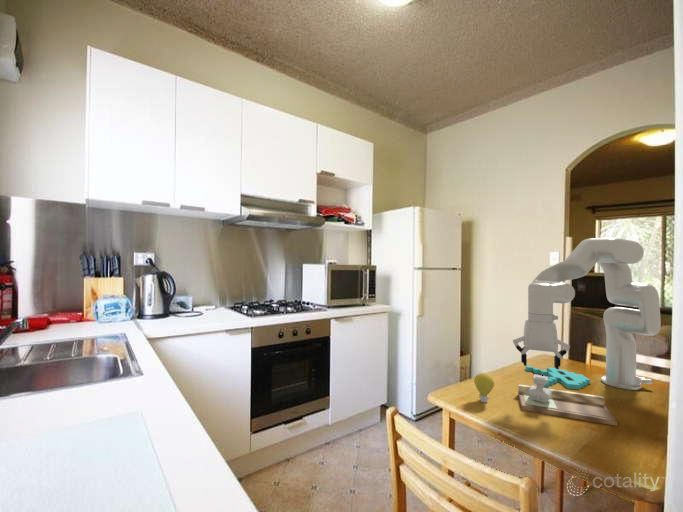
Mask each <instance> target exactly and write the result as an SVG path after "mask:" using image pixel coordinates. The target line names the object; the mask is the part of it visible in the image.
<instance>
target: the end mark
mask: <svg viewBox="0 0 683 512" xmlns="http://www.w3.org/2000/svg"><path fill="white" fill-rule="evenodd" d="M523 394H524V397H525V401H526V404H529V405H536V406H542V407H548V408H554V409H557V407H556V405H555V403H554V401H553V399H552V397H550V399H549V400H548V401H547V402H546V403H543V402H539V401H535V400H532V399H531V398H530V396H529V395H528V394H527V393H523Z"/></svg>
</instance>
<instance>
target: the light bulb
mask: <svg viewBox="0 0 683 512" xmlns="http://www.w3.org/2000/svg"><path fill="white" fill-rule="evenodd" d="M473 383H474V385H475V388H476V389H477V391H478V392H479V394H478V398H479V399H480V402H481V403H488V400H489V399H490V398H489V397H490V396H489V394H490V393H491V391H492V390H493V388H494V387H495V380H494V378H493V377H492V376H491V375H490V374H489V373H486V372H480V373H478V374H476V375H475V377H474V379H473Z"/></svg>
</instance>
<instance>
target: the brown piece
mask: <svg viewBox="0 0 683 512" xmlns="http://www.w3.org/2000/svg"><path fill="white" fill-rule="evenodd" d="M531 386H532V385H528V384H527V385H526V384H519V383H518V385H517V395H518V399H519V400H518V401H519V404H520V407H521V410H522V411H528V412H533V413H534V412H535V413H539V414H544V415H545V414H546V415H552V416H557V417H563V418H569V419H576V420H581V421H587V422H593V423H598V424H605V425H611V426H616V427H617V426H618V420H617V419H616V418H615V417H614V415H613V414H612V413H611V412H610V410H609V409H608V408H607V407H606V406H605V397H604V396H603V395H596V394H588V393H581V392H575V391H569V390H568V391H567V390H559V389H555V388H550V389H551V391H552V394H551V397H552V399H553V401H554V403H555V405H556V407H557V409H554V408H548V407H542V406H536V405H529V404H526V401H525V397H524V394H523V393H527V394H528V391H529V389H530V387H531Z"/></svg>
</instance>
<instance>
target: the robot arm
mask: <svg viewBox="0 0 683 512" xmlns="http://www.w3.org/2000/svg"><path fill="white" fill-rule="evenodd" d="M644 253H645V252H644V247H643V246H642V244H640V243H639V242H638V241H635V240H630V239H625V238H618V237H596V238H594V237H591V238H586V239H583V240H581V242H579V243H578V245H576V247H574V249H573V250H572V251H571V252H570V254H569V255H568V256H567V257H566V258H565V259H564V260H562V261H560V262H558V263H556V264H554V265H552V266H549V267H548V268H545V269H544V270H542V271H541V272H539V273H538V275H537V276H536V277H535V278H534V279H533V280H532V282H531V283H529V284H528V286H527V291H528V292H527V295H528V297H527V299H528V300H527V309H528V310H527V311H528V312H527V313H528V314H527V319H526V320H525V322H524V328H523V336H520V337H518V338H515V339H512V343H513V345H514V346H515V349H516V350H517V351H519V353H521V362H520V363H523V365H524V367H526V366H528V365H527V364H528V363H527V360H528V358H527V352H528V351H538V352H548V353H554V356H553V357H554V358H553V361H554V363H553V365H554V367H553V368H556V369H560V368H559V367H561V358H563V357H564V356H565V355H566V354H567V353H568V351H569V349H570V348H571V345H569V344H568V343H567V342H564V341H562V340H560V339H559V338H558V330H557V326H556V322H555V320H558V321H559V316H558V315H555V314H554V304H568V303H570V302H572V301H573V300H574V298H575V296H576V290H575V288H574V287H573V286H572V285H571V284H570V283H566V282H564V281H571V280H575V279H579V278H583V277H585V276H587V274H589V272H590V271H591V270H592V269H593V267H594V266H595V265H596V264H598V265H599V266H600V267H601V269H602V271H603V274H604V283H605V285H604V286H605V294H606V298H607V301H608V302H609V303H611V304H614V305H618V306H614V307H611V306H610V307H608V308H607V309H606V310H604V312H603V318H602V319H603V322H604V327H605V335H606V337H605V339H606V340H605V341H606V343H605V351H606V352H605V353H606V354H605V375H603V376H601V377H600V381H601V382H602V383H604V384H605V385H608V386H611V387H613V388H618V389H622V390H628V391H639V390H641V389H642V385H643V384H646V385H652V384H653V381H652V379H650V378H646V377H641V376H638V375H637V341H636V339H635V337H634V336H633V334H636V335H642V336H647V337H648V336H649V337H651V336H652V337H653V336H657V335H658V334H659V333H660V331H661V326H662V322H661V321H662V320H661V309H660V308H661V307H660V294H659V292H658V290H657V289H656V287H655V286H654V285H652V284H650V283H644V282H634V281H633V278H632V277H633V276H632V269H631V268H630V266H629V265H632V264H637V263H640V261H641V260H642V259H643V257H644ZM619 305H620V306H621V307H620V306H619ZM622 306H625V307H622ZM628 307H629V308H628ZM630 307H634V308H630ZM635 308H636V309H635ZM637 308H638V309H637ZM521 342H523V345H524V346H523V347H521V346H520V344H519V343H521ZM559 345H560V346H562V347H563V348H562V349H560V351H558V349H559Z"/></svg>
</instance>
